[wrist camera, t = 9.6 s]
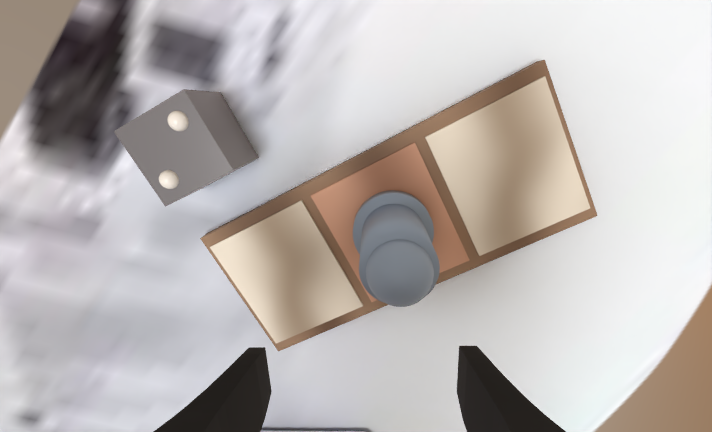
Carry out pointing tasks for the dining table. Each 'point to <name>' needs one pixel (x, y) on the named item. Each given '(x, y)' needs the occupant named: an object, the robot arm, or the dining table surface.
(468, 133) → the game board
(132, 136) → the die
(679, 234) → the dining table surface
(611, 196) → the dining table surface
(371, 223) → the pawn
